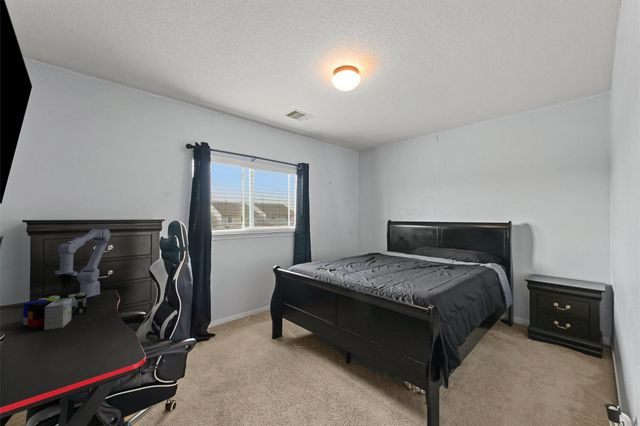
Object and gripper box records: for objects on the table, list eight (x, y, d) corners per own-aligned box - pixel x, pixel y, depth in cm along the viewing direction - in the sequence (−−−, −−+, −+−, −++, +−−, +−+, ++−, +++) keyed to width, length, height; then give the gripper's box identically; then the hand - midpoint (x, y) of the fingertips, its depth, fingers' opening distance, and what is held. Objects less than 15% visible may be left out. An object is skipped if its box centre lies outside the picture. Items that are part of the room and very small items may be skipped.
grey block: (73, 300, 160) (73, 294, 160) (78, 301, 159) (78, 294, 159) (68, 301, 157) (68, 295, 157) (73, 302, 156) (73, 295, 156)
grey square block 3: (43, 304, 151) (43, 297, 152) (49, 305, 151) (49, 298, 151) (37, 306, 149) (38, 299, 149) (43, 306, 148) (43, 299, 148)
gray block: (54, 302, 156) (54, 295, 156) (59, 302, 155) (59, 295, 156) (48, 303, 154) (49, 296, 154) (54, 304, 153) (54, 297, 153)
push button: (71, 315, 139) (71, 295, 139) (69, 313, 142) (69, 294, 143) (87, 312, 144) (88, 293, 145) (85, 309, 148) (86, 291, 148)
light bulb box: (53, 322, 130) (54, 299, 130) (71, 320, 133) (72, 298, 133) (43, 330, 121) (44, 306, 121) (63, 327, 124) (64, 304, 124)
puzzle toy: (23, 324, 127) (23, 303, 127) (49, 317, 136) (50, 297, 137) (36, 327, 124) (37, 305, 124) (63, 319, 134) (63, 299, 134)
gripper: (49, 264, 157) (48, 288, 157) (68, 265, 154) (67, 289, 153) (63, 262, 164) (62, 285, 163) (81, 263, 161) (80, 286, 160)
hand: (65, 287), depth 159 cm, fingers closed
